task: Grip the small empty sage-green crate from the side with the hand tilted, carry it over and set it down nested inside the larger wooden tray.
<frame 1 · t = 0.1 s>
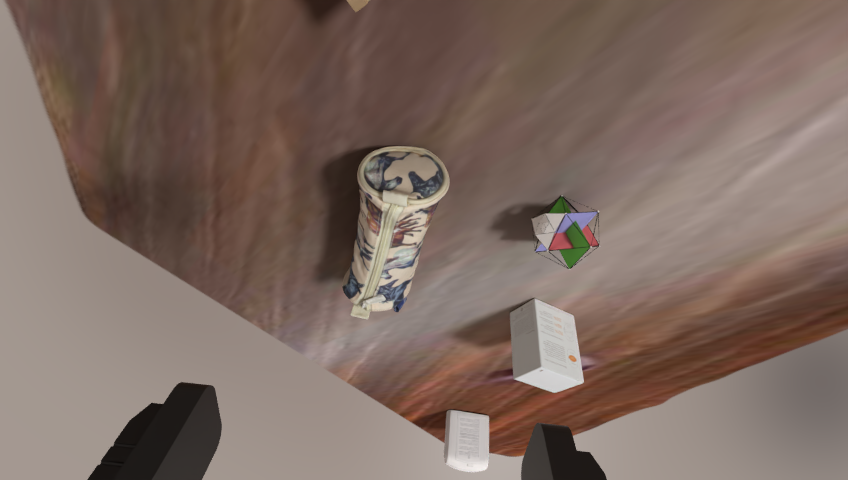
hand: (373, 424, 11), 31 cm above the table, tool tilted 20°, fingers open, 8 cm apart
pencil case: (394, 203, 52), on the table
small box: (541, 312, 67), on the table
geometric puzzle: (562, 208, 50), on the table
photo printer: (467, 412, 106), on the table
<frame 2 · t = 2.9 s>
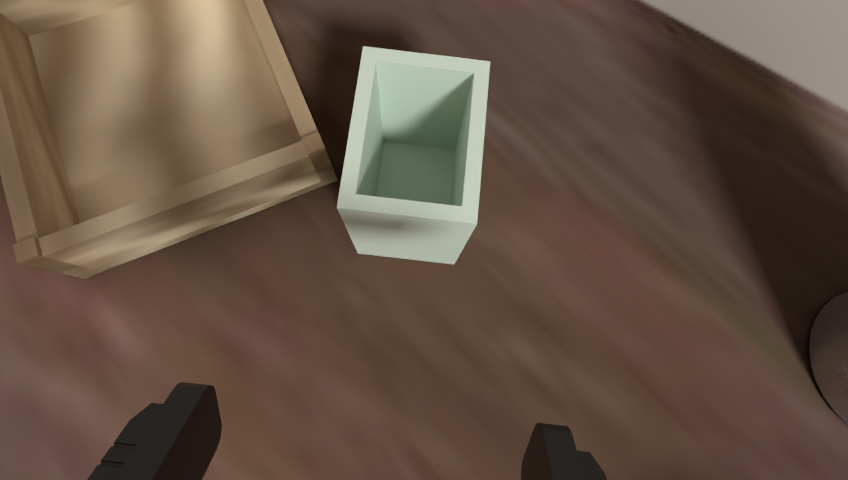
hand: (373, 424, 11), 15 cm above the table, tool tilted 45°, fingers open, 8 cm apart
wooden tray: (174, 107, 30), on the table
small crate: (413, 198, 29), on the table
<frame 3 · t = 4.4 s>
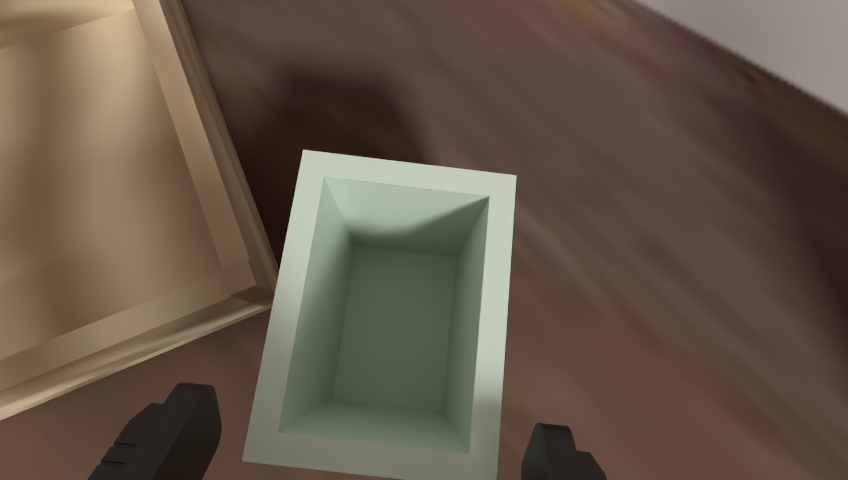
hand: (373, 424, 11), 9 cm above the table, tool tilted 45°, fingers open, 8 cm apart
wooden tray: (64, 191, 21), on the table
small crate: (397, 326, 20), on the table
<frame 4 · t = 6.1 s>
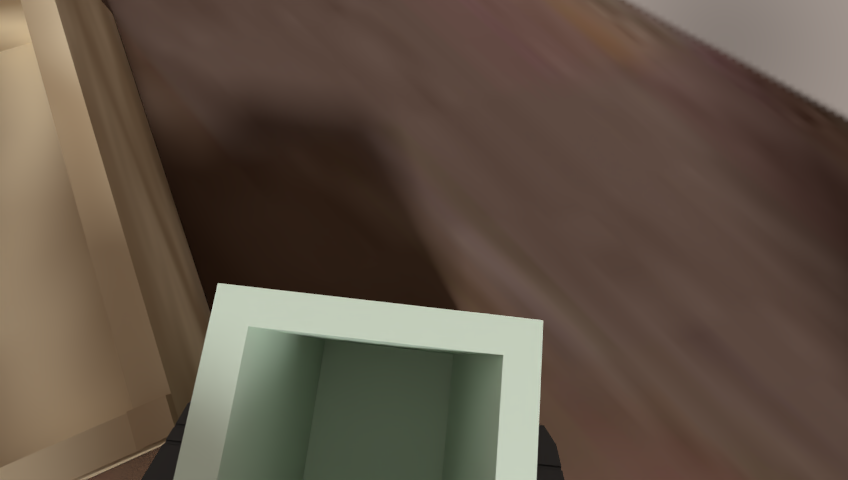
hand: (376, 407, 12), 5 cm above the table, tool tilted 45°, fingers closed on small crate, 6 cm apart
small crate: (378, 441, 16), on the table, touching gripper
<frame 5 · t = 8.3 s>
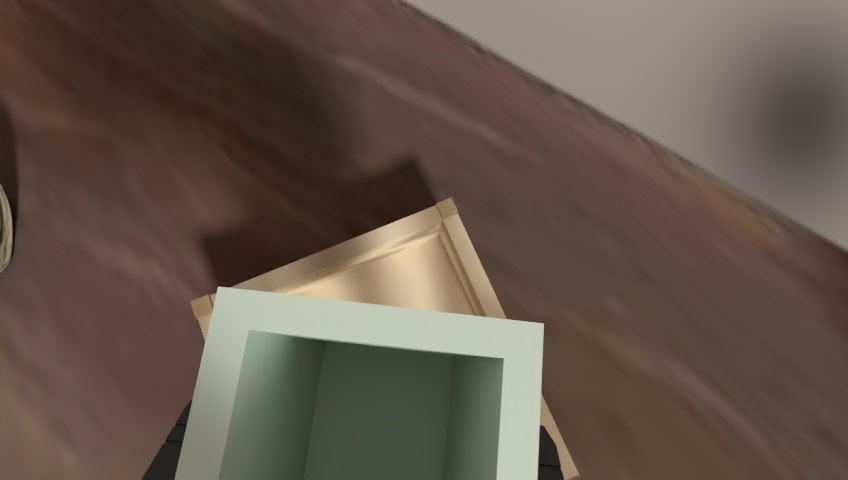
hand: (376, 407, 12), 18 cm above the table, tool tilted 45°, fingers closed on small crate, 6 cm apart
wooden tray: (388, 390, 29), on the table
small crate: (378, 443, 16), point 13 cm above the table, touching gripper
when the fingers open (7 cm above the table, at t = 10.9 s): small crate drops 1 cm, resting on wooden tray.
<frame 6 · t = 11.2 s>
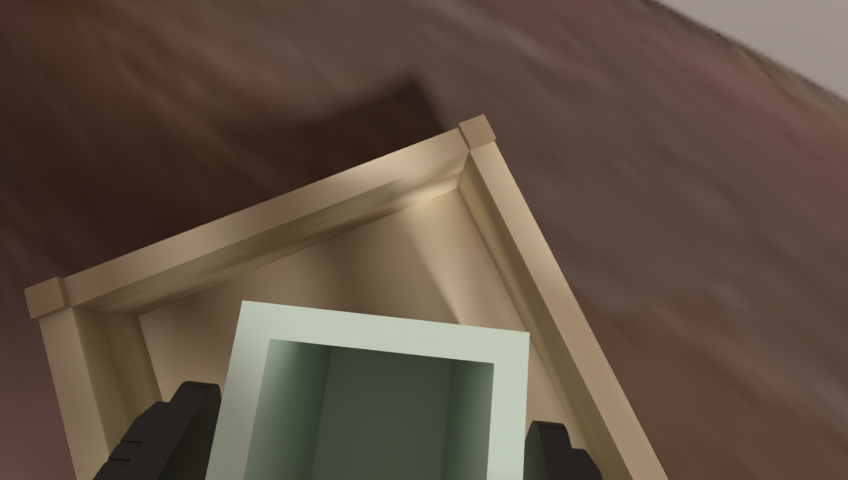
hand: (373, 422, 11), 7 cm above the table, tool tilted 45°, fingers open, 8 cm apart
wooden tray: (380, 433, 18), on the table
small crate: (381, 441, 17), point 1 cm above the table, touching wooden tray
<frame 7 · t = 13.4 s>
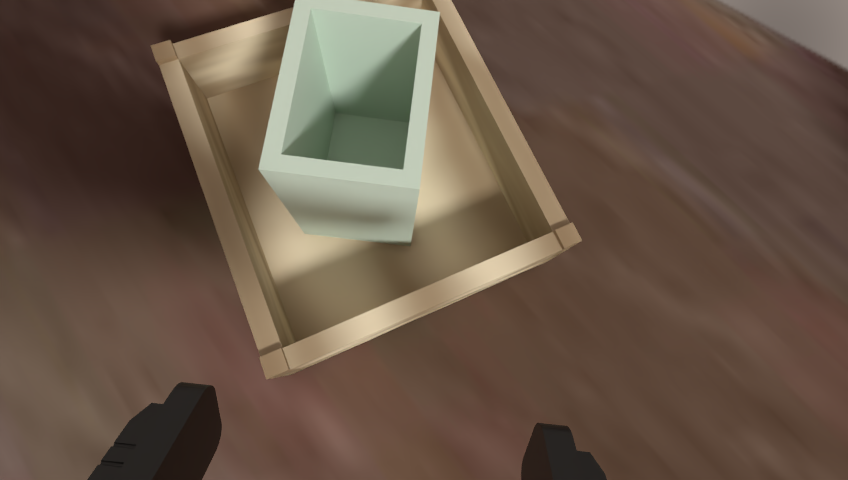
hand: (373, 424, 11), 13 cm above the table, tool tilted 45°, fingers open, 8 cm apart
wooden tray: (366, 177, 27), on the table
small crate: (367, 174, 26), point 1 cm above the table, touching wooden tray
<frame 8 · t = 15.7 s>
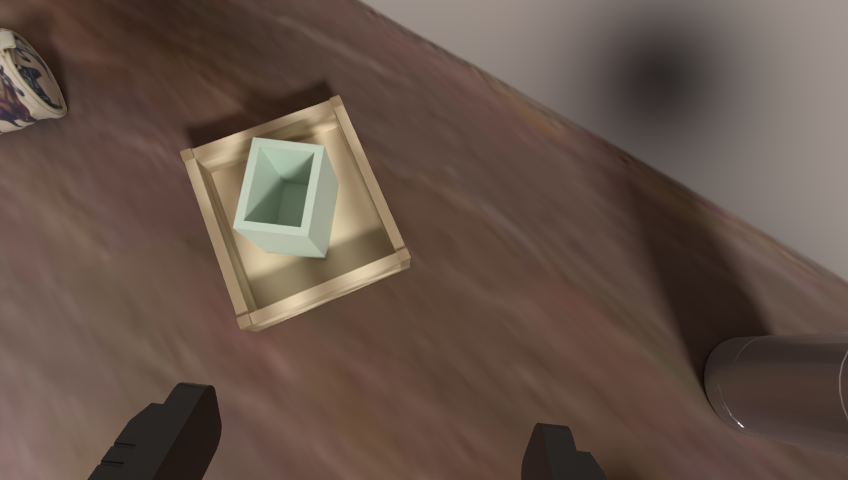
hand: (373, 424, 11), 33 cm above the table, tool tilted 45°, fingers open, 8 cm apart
wooden tray: (304, 218, 46), on the table
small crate: (303, 217, 45), point 1 cm above the table, touching wooden tray
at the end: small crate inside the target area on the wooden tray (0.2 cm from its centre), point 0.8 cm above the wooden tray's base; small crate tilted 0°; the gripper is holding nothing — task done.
